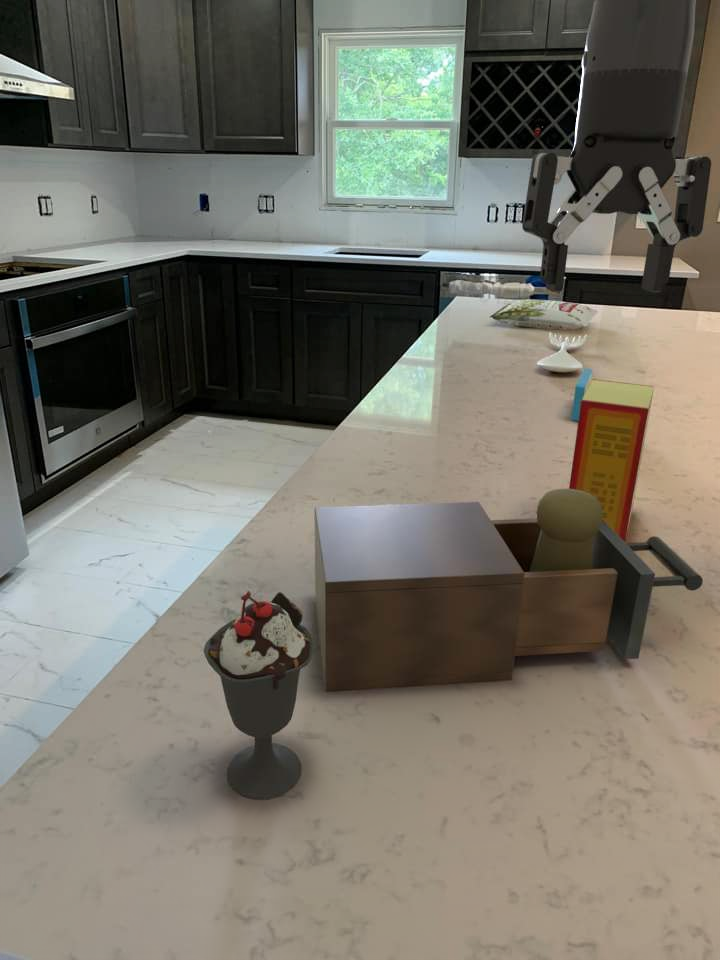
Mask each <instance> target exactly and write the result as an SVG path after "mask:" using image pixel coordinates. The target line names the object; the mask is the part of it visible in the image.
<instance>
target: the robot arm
mask: <svg viewBox="0 0 720 960" xmlns="http://www.w3.org/2000/svg"><path fill="white" fill-rule="evenodd" d="M696 3H697V0H594V2H593V8H592V13H591V17H590V22H589V26H588V30H587V34H586V39H585V40H586V41H585V48H584V53H583V55H582V59H581V68H582V71H581V72H582V73H581V81H580V89H579V90H580V91H579V96H578V97H579V99H578V107H577V116H576V122H575V132H574V145H573V149H572V151H571V153H570V155H569V156H561V155H557V154H556V153H554V152H540V153H537V154H535V155H534V156H533V157H532V160H531V165H530V173H529V178H528V185H527V192H526V197H525V204H524V212H523V219H522V225H521V227H522V230H523V232H524V233H528V234H530V235H533V236H535V237H537V238H539V239H540V240H541V241H542V244H543V245H542V247H543V248H542V255H541V266H540V275H539V276H540V281H541V283H543V284H545V289H546V290H547V291H549V292H552V293H561V292H562V291H563V290H564V284H565V276H566V267H567V261H568V251H569V245H568V244H566V243H565V242H566V241H567V240H568V239H569V238H570V236H571V235H572V234H573V233H574V231H575V230H576V229H577V228H578V227H579V225H581V224H582V223H583V222H585V221H586V220H587V219H588V218H589V217H590V216H591V214H600V215H603V214H604V215H611V214H614V213H618V214H625V215H636V216H637V217H638V219H639V220H640V221H641V222H642V223H643V224H644V226H645V228H646V229H647V231H648V233H649V236H650V237H651V239H652V240H653V241H652V243H648V244H647V248H646V249H647V250H646V255H645V262H644V268H643V272H642V273H643V274H642V275H643V276H642V280H641V289H642V290H643V291H645V292H649V293H660V292H662V289H663V286H666V285H667V283H668V282H669V280H670V277H671V269H672V265H673V258H674V254H675V248H676V246H677V245H678V243H679V242H681V241H683V240H685V239H689V238H696V237H698V236H700V235H701V234H702V232H703V229H704V223H705V214H706V207H707V199H708V192H709V185H710V178H711V177H710V176H711V169H712V159H711V158H710V157H709V156H701V155H696V156H693V155H692V156H687V157H684V158H678V159H677V158H676V157H675V154H674V143H675V140H676V137H677V135H678V132H679V126H680V120H681V115H682V114H681V113H682V108H683V102H684V96H685V91H686V84H687V79H688V73H689V68H690V67H689V66H690V61H691V54H692V48H693V42H694V36H695V19H696V18H695V17H696ZM565 173H566V174H567V176H568V178H569V180H570V181H571V184H572V186H573V187H574V189H573V190H572V191H571V192H570V194H569V195H568V196H567V197H566V198H565V200H564V201H563V203H561V205H560V206H559V207H558V211H557V213H556V214H555V215H554V217H552V219H551V220H550V221H549V219H550V210H551V204H552V200H553V199H552V198H553V191H554V186H555V185H557V184H559V183H560V182H561V181H562V178H563V175H564V174H565ZM672 176H673V180H674V184H675V186H677V193H676V201H675V209H674V218H673V215H672V214H673V211H672V208H671V207H670V204H669V202H668V200H667V198H666V196H665V194H664V192H663V190H662V189H663V188H664V186H665V185H666V184H667V183H668V181H669V180H670V179H671V178H672Z"/></svg>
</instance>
